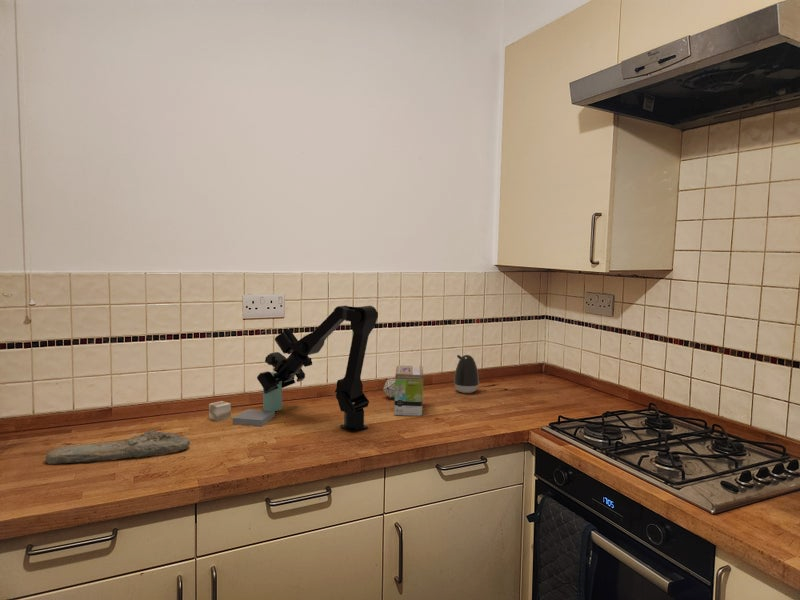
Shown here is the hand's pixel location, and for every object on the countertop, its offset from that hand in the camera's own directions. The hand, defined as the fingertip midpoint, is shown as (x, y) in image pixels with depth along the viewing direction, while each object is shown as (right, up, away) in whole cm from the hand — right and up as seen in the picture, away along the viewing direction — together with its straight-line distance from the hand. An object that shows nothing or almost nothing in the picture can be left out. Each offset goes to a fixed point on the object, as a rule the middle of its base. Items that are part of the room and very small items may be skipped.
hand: (269, 391), depth 187 cm
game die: (+43, -6, +18) cm, 47 cm away
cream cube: (-14, -7, -10) cm, 19 cm away
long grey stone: (-30, -10, -42) cm, 53 cm away
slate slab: (-2, -8, -12) cm, 14 cm away
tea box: (+49, -7, +3) cm, 50 cm away
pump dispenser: (+73, -5, +29) cm, 79 cm away
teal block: (+1, -7, 0) cm, 7 cm away
